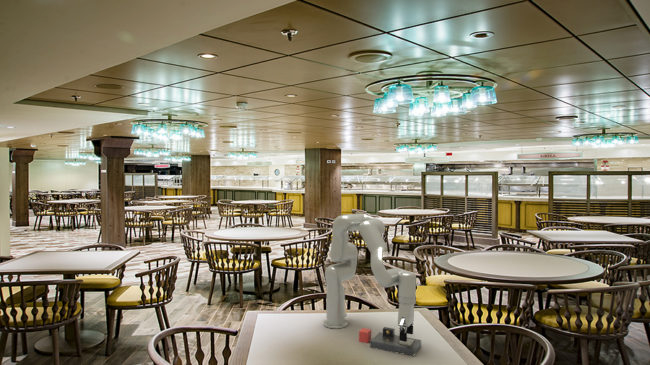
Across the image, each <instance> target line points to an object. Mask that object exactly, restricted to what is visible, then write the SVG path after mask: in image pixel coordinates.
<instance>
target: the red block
mask: <svg viewBox="0 0 650 365" xmlns="http://www.w3.org/2000/svg"><path fill="white" fill-rule="evenodd" d="M371 340H372V329H369V328H365V327H362V328H361V329H360V330H359V332H358V342H360V343H364V342H365V344H369V343H370V341H371ZM368 342H369V343H368Z"/></svg>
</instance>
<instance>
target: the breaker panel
mask: <svg viewBox="0 0 650 365" xmlns="http://www.w3.org/2000/svg"><path fill="white" fill-rule="evenodd" d="M407 339H412V340H414V343H413V345H412V346H408V345H403V344H400V340H399V335H396V333H395V328H392V327H383V328H382V331H381V332H378V333H377V334H376V335H375V336H374V337H373V338H371V341H370V342H369V343H370V344H369V347H370V348H372V349H376V348H377V349H378V350H381V349H382V351H387V352H391V351H392V353H395V352H398V354H400V353H404V354H403V355H405V354H409V355H408V356H410V355H414V354H415V353H416V352H417V353H418V351H419V350H420V349H421V347H422V339H419V338H411V337H408V336H407ZM419 348H420V349H419ZM377 349H376V350H377ZM418 349H419V350H418ZM417 353H416V354H417ZM416 354H415V355H416ZM415 355H414V356H415Z"/></svg>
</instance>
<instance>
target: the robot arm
mask: <svg viewBox="0 0 650 365" xmlns="http://www.w3.org/2000/svg"><path fill="white" fill-rule="evenodd" d="M353 231H359V234H360V236H361V239H363V241H364V243H365V245H366V246H367V249H368V251H369V252H370V267H371V272H372V274H373V275H374V278H375V281H376V282H377V283H378V284H379V285H380V286H381V287H383V288H390V287H394V286H398V303H399V305H398V313H397V314H398V315H397V326H399V329H398V330H399V334H398V336H399V340H400V341H404V342H406V341H407V337H408V335H413V334H414V321H415V305H416V298H417V296H416V295H417V294H416V293H417V292H416V290H417V289H416V287H417V286H416V285H417V276H416V273H415V272H412V271H411V270H410V271H408V270H404V269H401V268H399V267H395V268H389V269H387V268H386V267H385V264H384V262H383V255H384V252H385V251H386V250H387V247H388V246H387V243H386V242H385V240H384V238H383V235H384V234H385V232H386V225H385V223H384V222H383V221H382V220H381V219H379V218H376V217H373V216H372V215H368V214H365V213H347V214H341V215H339V216H337V217H336V218H335V219H334V220H333V223H332V235H331V236H332V237H331V242H330V243H331V246H330V252H329V256H330V261H332V262H334V263H333V264H331V265H329V266H328V267H326V269H325V271H324V278H325V283H326V314H325V315H326V319H324V320H323V324H322V325H323V326H324V327H325V328H329V329H337V330H338V329H344V328H345V327H347V326H348V324H349V323H348V321H347V320H345V319H346V317H347V313H346V291H345V287H344V285H343V284H344V283H343V282H345V281H349V280H351V279H353V278H354V276H355V274H356V272H357V264H358V254H359V252H358V248H357V246H356V244H354V243H353V242H349V241H350V240H349V238H350V236H349V233H348V232H353Z"/></svg>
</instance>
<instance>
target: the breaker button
mask: <svg viewBox="0 0 650 365" xmlns="http://www.w3.org/2000/svg"><path fill="white" fill-rule="evenodd" d="M413 343H414V340H412V339H407V341H406V342H404V341H400V344H403V345H408V346H412V345H413Z"/></svg>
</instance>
